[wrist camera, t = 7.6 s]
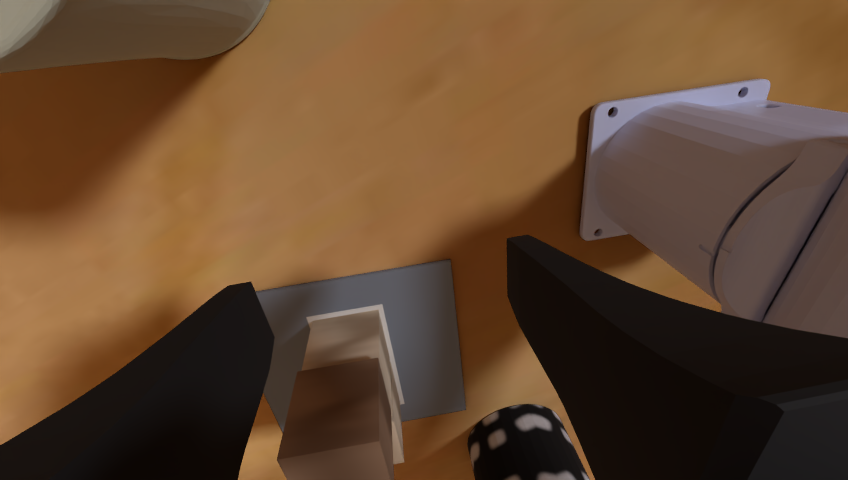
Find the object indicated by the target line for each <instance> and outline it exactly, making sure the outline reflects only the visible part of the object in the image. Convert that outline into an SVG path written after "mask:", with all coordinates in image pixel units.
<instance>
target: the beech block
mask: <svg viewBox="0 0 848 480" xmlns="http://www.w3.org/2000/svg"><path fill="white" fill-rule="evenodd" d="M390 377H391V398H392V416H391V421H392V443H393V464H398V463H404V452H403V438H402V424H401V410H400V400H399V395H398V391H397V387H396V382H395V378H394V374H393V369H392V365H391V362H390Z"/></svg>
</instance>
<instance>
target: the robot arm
mask: <svg viewBox="0 0 848 480" xmlns="http://www.w3.org/2000/svg"><path fill="white" fill-rule="evenodd" d="M741 89H742V91H741V93H740V94H739V95H738V93H739V91H740V90H741ZM769 89H770V82H769V81H768V80H767V79H753V80H746V81H740V82H733V83H726V84H720V85H713V86H707V87H700V88H693V89H687V90H680V91H673V92H667V93H660V94H654V95H647V96H640V97H634V98H627V99H621V100H614V101H607V102H601V103H598V104H596V105H595V106H594V107H593V109H592V110H591V114H590V125H589V136H588V146H587V157H586V168H585V179H584V190H583V200H582V211H581V222H580V236H581V238H583V239H584V240H586V241H591V240H597V239H603V238H609V237H615V236H621V235H627V234H630V235H631V236H633V237H634V238H635V239H637V240H638V241H639V242H641V243H642V244H643V245H645V246H646V247H647V248H648V249H650V250H651V251H652V252H654V253H655V254H656V255H658V256H659V257H660V258H661V259H663V260H664V261H665V262H667V263H668V264H669V265H671V266H672V267H673V268H675V269H676V270H677V271H678V272H680V273H681V274H682V275H684V276H685V277H686V278H688V279H689V280H690V281H691V282H693V283H694V284H695V285H697V286H698V287H699V288H701V289H702V290H703V291H705V292H706V293H707V294H708V295H710V296H711V297H712V298H714V299H715V300H716V301H718V302H719V303H720V304H721V306H722V311H721V313H720V312H716V311H713V310H709V309H706V308H702V307H699V306H695V305H692V304H688V303H685V302H681V301H678V300H675V299H672V298H669V297H666V296H663V295H660V294H657V293H654V292H652V291H649V290H646V289H643V288H640V287H638V286H635V285H632V284H630V283H627V282H625V281H622V280H620V279H618V278H616V277H613V276H611V275H609V274H606V273H604V272H602V271H600V270H597V269H595V268H593V267H591V266H589V265H587V264H585V263H583V262H581V261H579V260H577V259H575V258H573V257H571V256H569V255H567V254H565V253H563V252H561V251H559V250H557V249H555V248H554V247H552V246H550V245H548V244H546V243H544V242H542V241H540V240H538V239H536V238H534V237H532V236H529V235H523V236H517V237H512V238H507V289H508V298H509V301H510V303H511V306H512V309H513V311H514V314H515V316H516V319H517V321H518V323H519V326H520V327H521V329H522V331H523V333H524V335H525V337H526V338H527V340H528V342H529V344H530V346H531V347H532V349H533V351H534V353H535V354H536V356H537V358H538V360H539V362H540V363H541V365H542V367H543V369H544V370H545V372H546V374H547V376H548V377H549V379H550V381H551V383H552V385H553V386H554V388H555V390H556V392H557V394H558V396H559V398H560V400H561V402H562V403H563V405H564V408H565V410H566V412H567V414H568V417H569V419H570V421H571V424H572V426H573V428H574V430H575V433H576V435H577V437H578V439H579V442H580V444H581V447H582V449H583V451H584V454H585V456H586V459H587V461H588V463H589V466H590V468H591V471H592V473H593V475H594V478H595V480H848V113H845V112H839V111H832V110H826V109H820V108H813V107H807V106H800V105H794V104H788V103H781V102H775V101H769V100H766V99H767V96H768V92H769ZM612 107H613V109H614V111H613V113H612V114H611V115H610V116H608V111H609V110H610V108H612ZM597 229H599V231H598V232H597V233H595V234H594V232H595V231H596V230H597ZM274 339H275V337H274V334H273V332H272V330H271V327H270V325H269V323H268V320H267V318H266V316H265V313H264V311H263V309H262V306H261V304H260V302H259V299H258V297H257V295H256V292H255V290H254V287H253V285H252V283H251V282H246V283H241V284H235V285H229V286H227V287H226V288H224V289H223V290H221V291H220V292H218V293H217V294H216V295H215V296H213V297H212V298H211V299H209V300H208V301H207V302H206V303H204V304H203V305H202V306H201V307H199V308H198V309H197V310H196V311H195V312H193V313H192V314H191V315H190V316H188V317H187V318H186V319H185V320H184V321H182V322H181V323H180V324H179V325H177V326H176V327H175V328H174V329H172V330H171V331H170V332H169V333H168V334H166V335H165V336H164V337H163V338H161V339H160V340H159V341H157V342H156V343H155V344H153V345H152V346H151V347H149V348H148V349H147V350H145V351H144V352H143V353H142V354H140V355H139V356H138V357H136V358H135V359H134V360H132V361H131V362H130V363H128V364H127V365H126V366H125V367H123V368H122V369H120V370H119V371H118V372H116V373H115V374H113V375H112V376H110V377H109V378H108V379H106V380H105V381H103V382H102V383H100V384H99V385H97V386H96V387H94V388H93V389H91V390H90V391H88V392H87V393H85V394H84V395H82V396H81V397H79V398H78V399H76V400H75V401H73V402H72V403H70V404H69V405H67V406H65V407H64V408H62V409H61V410H59V411H57V412H56V413H54V414H52V415H51V416H49V417H47V418H46V419H44V420H42V421H41V422H39V423H37V424H36V425H34V426H32V427H30V428H29V429H27V430H25V431H24V432H22V433H20V434H19V435H17V436H15V437H14V438H12V439H10V440H9V441H7V442H5V443H4V444H2V445H0V480H238V475H239V470H240V466H241V463H242V459H243V455H244V452H245V448H246V445H247V442H248V439H249V435H250V432H251V429H252V426H253V423H254V419H255V416H256V413H257V410H258V407H259V404H260V400H261V397H262V394H263V391H264V387H265V384H266V381H267V377H268V374H269V370H270V365H271V359H272V353H273V346H274Z"/></svg>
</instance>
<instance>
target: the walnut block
mask: <svg viewBox="0 0 848 480" xmlns="http://www.w3.org/2000/svg"><path fill="white" fill-rule="evenodd" d="M277 461H278V463H279V465H280V467H281V469H282V471H283V473H284V474H285V476H286V478H287V480H394V466H393V443H392V421H391V408H390V404H389V400H388V395H387V391H386V387H385V383H384V379H383V375H382V371H381V367H380V363H379V359H378V358H373V359H367V360H361V361H355V362H350V363H344V364H338V365H332V366H326V367H321V368H315V369H309V370H303V371H298V372H297V375H296V379H295V383H294V388H293V392H292V396H291V401H290V405H289V409H288V414H287V418H286V422H285V427H284V431H283V435H282V440H281V444H280V448H279V453H278V457H277Z"/></svg>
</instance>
